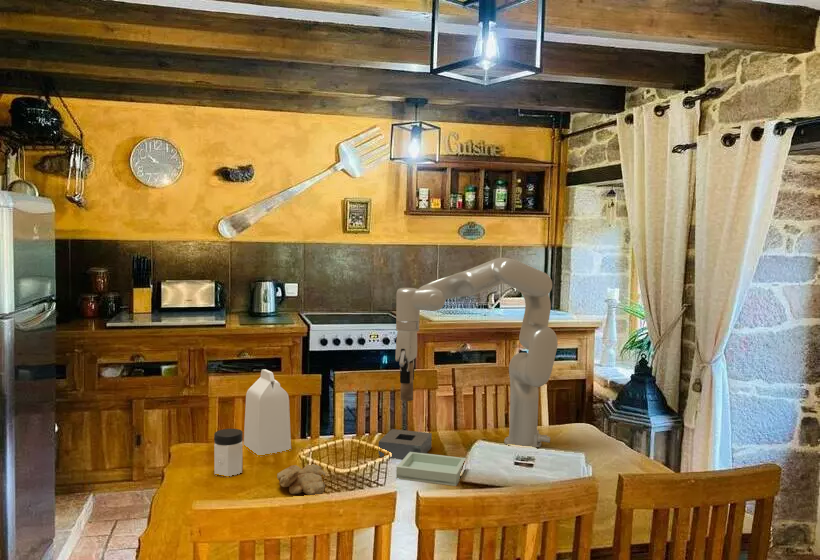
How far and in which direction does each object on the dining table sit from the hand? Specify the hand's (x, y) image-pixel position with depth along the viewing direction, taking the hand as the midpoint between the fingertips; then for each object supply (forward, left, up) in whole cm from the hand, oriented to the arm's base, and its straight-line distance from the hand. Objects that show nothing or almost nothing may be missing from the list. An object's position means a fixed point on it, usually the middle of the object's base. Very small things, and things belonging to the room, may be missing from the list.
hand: (407, 381), depth 215 cm
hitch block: (0, 0, -24) cm, 24 cm away
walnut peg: (0, 0, -6) cm, 6 cm away
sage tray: (-13, +16, -24) cm, 31 cm away
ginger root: (+19, +39, -24) cm, 50 cm away
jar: (+45, +34, -24) cm, 61 cm away
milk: (+45, +11, -24) cm, 52 cm away
